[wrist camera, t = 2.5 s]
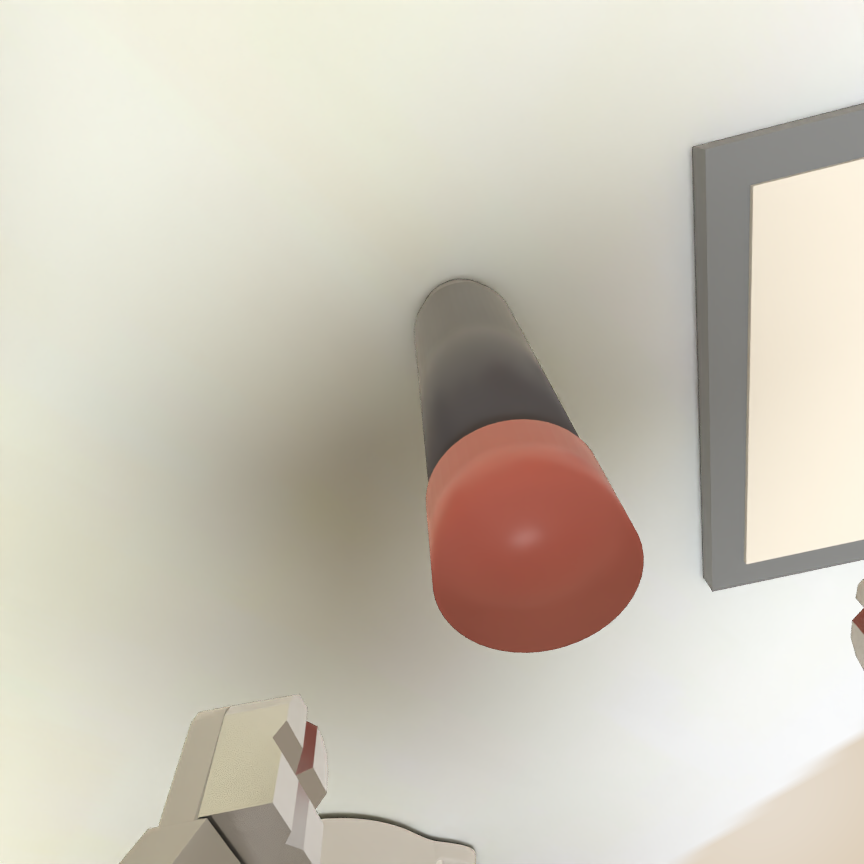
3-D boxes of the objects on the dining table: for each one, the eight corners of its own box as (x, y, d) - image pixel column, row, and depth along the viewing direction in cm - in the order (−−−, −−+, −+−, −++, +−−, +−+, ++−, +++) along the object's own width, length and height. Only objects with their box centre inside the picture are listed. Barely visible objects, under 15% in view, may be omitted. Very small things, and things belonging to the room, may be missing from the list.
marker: (516, 351, 25) (650, 629, 12) (423, 374, 25) (457, 669, 12) (500, 257, 23) (636, 466, 10) (399, 282, 23) (409, 517, 10)
